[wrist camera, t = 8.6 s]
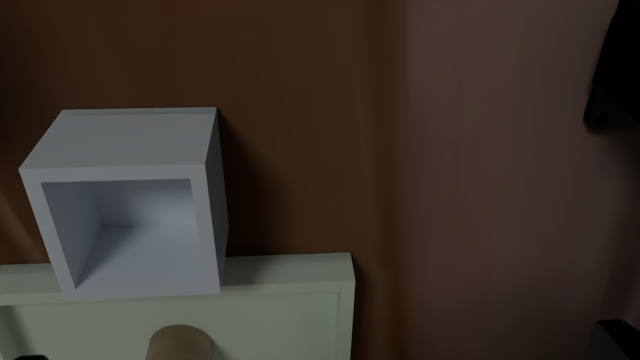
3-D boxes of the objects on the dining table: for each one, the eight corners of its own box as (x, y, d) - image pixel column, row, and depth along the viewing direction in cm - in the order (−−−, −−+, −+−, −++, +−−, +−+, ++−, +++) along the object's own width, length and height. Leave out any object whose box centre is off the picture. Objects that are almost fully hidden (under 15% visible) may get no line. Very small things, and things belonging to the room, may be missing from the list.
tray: (350, 252, 24) (355, 280, 23) (342, 391, 30) (346, 421, 28) (-21, 265, 23) (-42, 296, 22) (42, 406, 29) (29, 439, 27)
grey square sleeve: (216, 107, 20) (205, 164, 16) (228, 225, 23) (220, 294, 19) (62, 110, 19) (18, 168, 16) (95, 229, 22) (64, 300, 19)
